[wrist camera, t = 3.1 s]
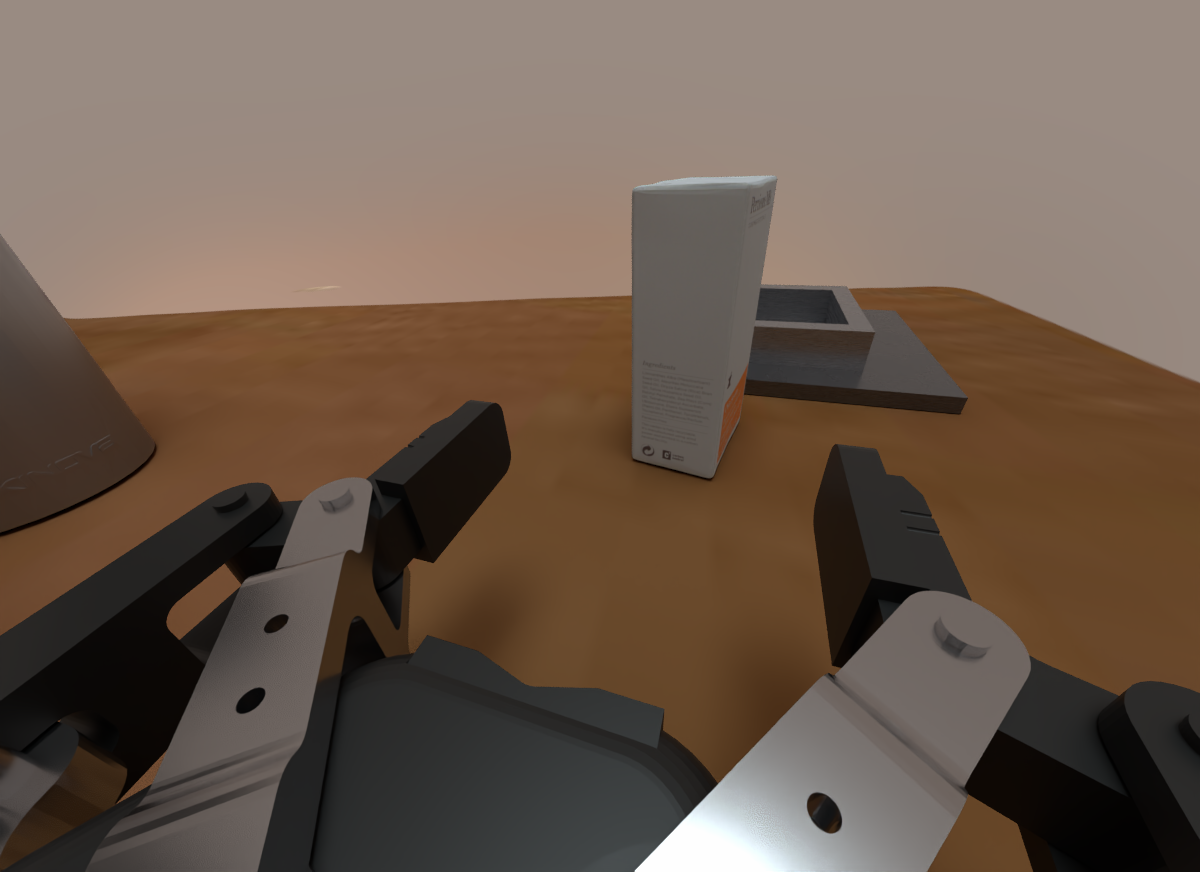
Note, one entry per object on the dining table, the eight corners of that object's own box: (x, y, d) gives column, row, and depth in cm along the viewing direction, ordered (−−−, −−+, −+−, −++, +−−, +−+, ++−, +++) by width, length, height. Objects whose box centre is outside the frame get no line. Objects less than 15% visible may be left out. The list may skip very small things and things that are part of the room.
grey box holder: (642, 384, 29) (642, 333, 27) (679, 313, 41) (681, 275, 39) (960, 413, 23) (988, 354, 22) (891, 322, 36) (905, 279, 34)
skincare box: (714, 483, 20) (751, 181, 13) (630, 461, 21) (625, 185, 15) (742, 421, 24) (781, 172, 18) (671, 407, 26) (681, 176, 19)
